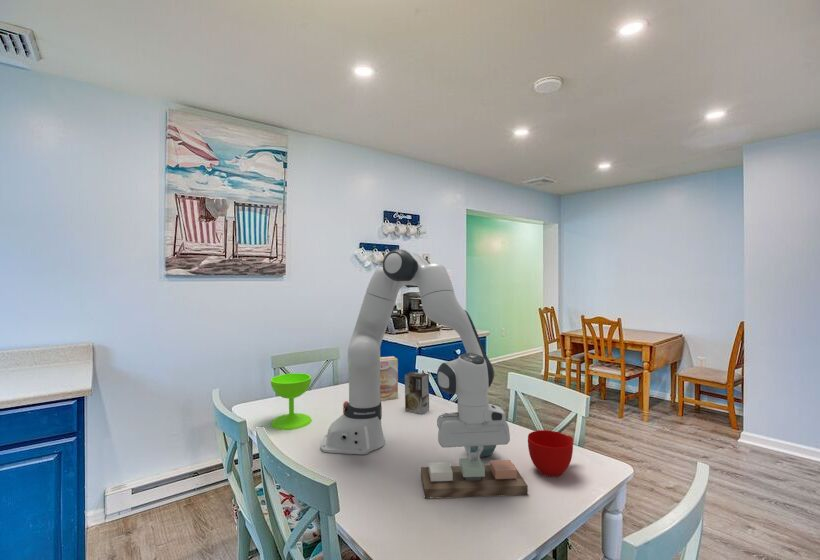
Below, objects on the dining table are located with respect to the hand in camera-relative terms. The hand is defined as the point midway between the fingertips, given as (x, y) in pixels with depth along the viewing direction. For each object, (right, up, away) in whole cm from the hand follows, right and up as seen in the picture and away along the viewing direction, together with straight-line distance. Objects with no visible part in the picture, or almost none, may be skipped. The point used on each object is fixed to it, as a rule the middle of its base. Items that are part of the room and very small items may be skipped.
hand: (473, 460), depth 113 cm
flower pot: (+5, -7, +19) cm, 21 cm away
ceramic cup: (+26, -7, +8) cm, 28 cm away
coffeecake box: (-32, -6, +78) cm, 85 cm away
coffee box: (-15, -6, +61) cm, 63 cm away
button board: (-1, -7, 0) cm, 7 cm away
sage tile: (-1, -6, 0) cm, 6 cm away
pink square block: (+8, -6, 0) cm, 10 cm away
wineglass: (-66, -7, +48) cm, 82 cm away
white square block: (-10, -6, -1) cm, 12 cm away
